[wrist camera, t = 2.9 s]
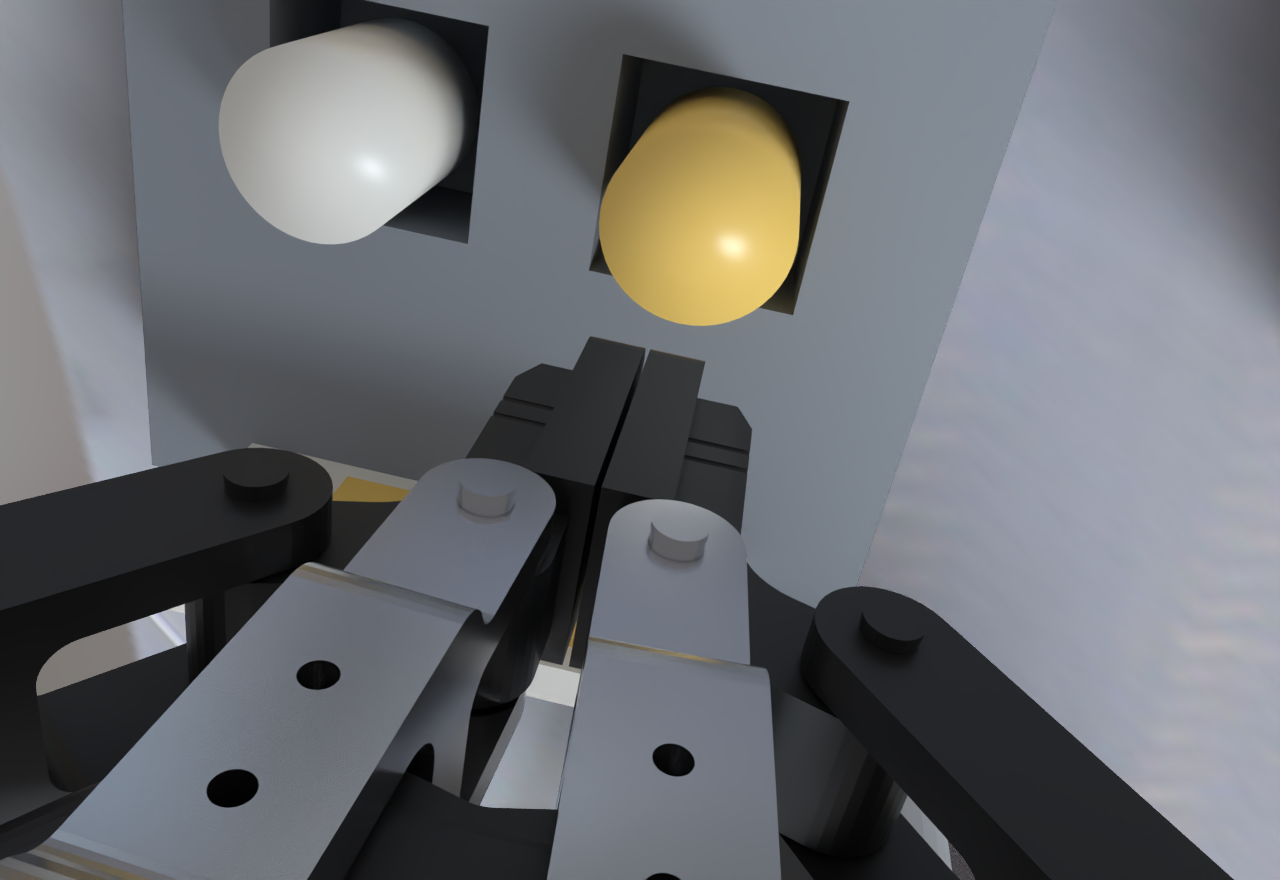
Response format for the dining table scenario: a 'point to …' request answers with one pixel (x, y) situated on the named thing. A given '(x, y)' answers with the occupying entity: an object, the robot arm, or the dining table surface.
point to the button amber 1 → (705, 209)
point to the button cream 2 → (346, 127)
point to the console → (579, 243)
